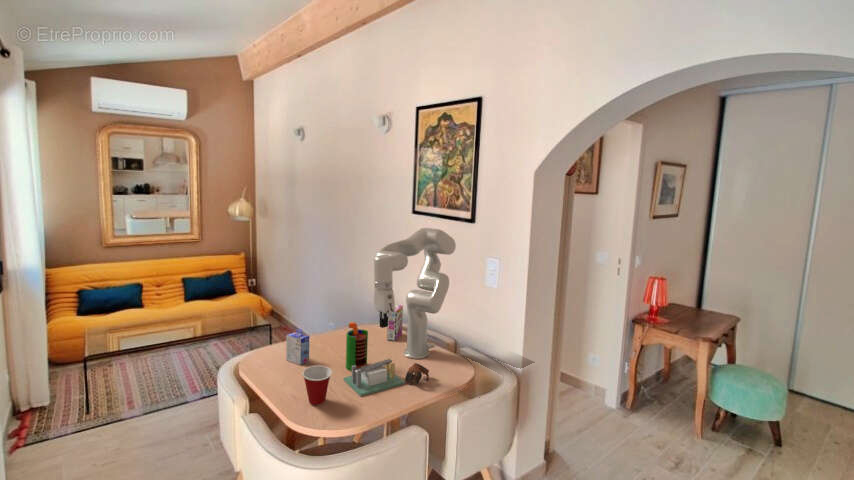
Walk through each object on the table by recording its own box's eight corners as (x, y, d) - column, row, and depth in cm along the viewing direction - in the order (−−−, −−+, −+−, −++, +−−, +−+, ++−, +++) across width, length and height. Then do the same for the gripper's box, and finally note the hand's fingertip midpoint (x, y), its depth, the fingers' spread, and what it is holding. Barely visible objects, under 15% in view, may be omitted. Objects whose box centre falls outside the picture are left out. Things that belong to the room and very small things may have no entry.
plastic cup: (313, 412, 153) (313, 381, 151) (296, 401, 160) (296, 371, 158) (338, 401, 161) (338, 371, 159) (320, 391, 168) (320, 362, 166)
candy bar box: (395, 341, 221) (396, 311, 219) (386, 340, 223) (387, 310, 220) (402, 334, 232) (403, 305, 230) (394, 333, 233) (394, 304, 231)
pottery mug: (402, 377, 183) (411, 359, 184) (421, 387, 184) (430, 369, 185) (404, 383, 171) (413, 364, 172) (425, 394, 172) (434, 375, 173)
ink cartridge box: (310, 361, 195) (310, 331, 193) (300, 365, 190) (300, 334, 188) (295, 356, 200) (294, 326, 198) (285, 360, 195) (285, 329, 193)
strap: (389, 360, 182) (389, 358, 182) (392, 362, 180) (392, 360, 179) (353, 371, 173) (353, 369, 172) (356, 374, 170) (356, 372, 170)
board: (385, 369, 189) (385, 352, 188) (404, 383, 176) (404, 365, 175) (343, 380, 178) (343, 361, 177) (360, 396, 165) (360, 377, 164)
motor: (361, 372, 185) (362, 328, 182) (342, 370, 187) (342, 326, 184) (369, 363, 195) (369, 321, 192) (350, 360, 197) (351, 319, 194)
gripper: (400, 287, 174) (400, 330, 177) (382, 279, 186) (382, 319, 189) (384, 290, 169) (385, 334, 173) (366, 282, 181) (367, 323, 184)
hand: (383, 326), depth 181 cm, fingers closed
